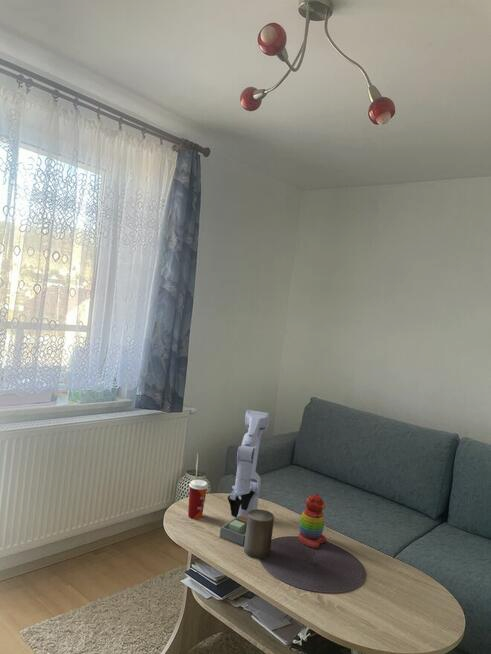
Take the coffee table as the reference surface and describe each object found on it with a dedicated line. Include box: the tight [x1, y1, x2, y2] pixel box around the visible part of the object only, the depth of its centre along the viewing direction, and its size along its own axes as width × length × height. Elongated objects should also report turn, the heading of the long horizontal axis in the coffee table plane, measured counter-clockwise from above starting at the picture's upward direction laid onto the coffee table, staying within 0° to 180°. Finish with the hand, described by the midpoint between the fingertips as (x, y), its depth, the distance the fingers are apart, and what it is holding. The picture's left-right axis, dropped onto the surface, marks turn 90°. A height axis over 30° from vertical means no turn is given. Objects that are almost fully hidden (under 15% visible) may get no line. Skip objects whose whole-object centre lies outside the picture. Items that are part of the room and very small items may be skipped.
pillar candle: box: [243, 508, 275, 559], centre depth 174 cm, size 10×10×15 cm
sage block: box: [229, 520, 245, 535], centre depth 182 cm, size 4×4×5 cm
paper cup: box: [187, 479, 209, 520], centre depth 196 cm, size 8×8×14 cm
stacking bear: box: [297, 493, 327, 549], centre depth 187 cm, size 11×10×18 cm
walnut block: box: [236, 515, 247, 534], centre depth 187 cm, size 4×4×5 cm
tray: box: [219, 516, 246, 548], centre depth 184 cm, size 14×10×4 cm
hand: (239, 512), depth 182 cm, fingers open, 7 cm apart
